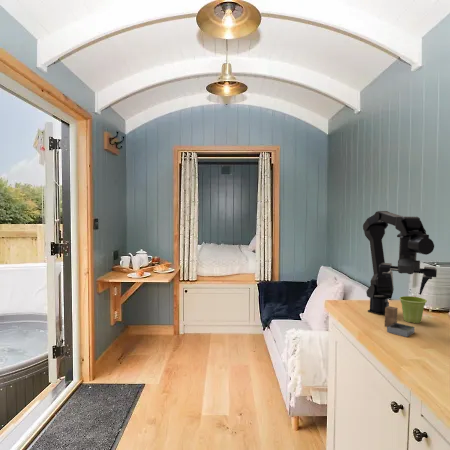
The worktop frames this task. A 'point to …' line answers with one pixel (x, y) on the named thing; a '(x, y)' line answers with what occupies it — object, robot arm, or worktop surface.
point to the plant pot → (412, 308)
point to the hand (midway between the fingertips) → (406, 292)
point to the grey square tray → (400, 329)
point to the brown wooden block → (390, 315)
